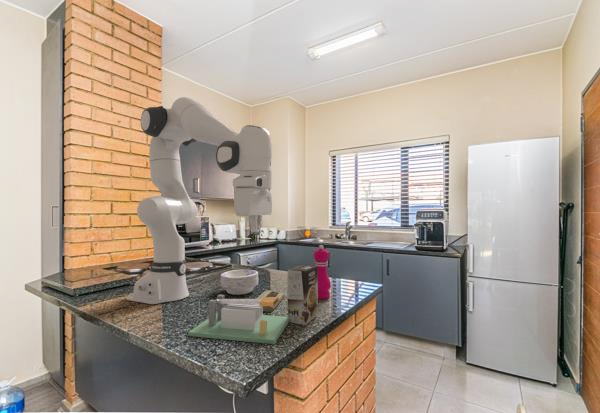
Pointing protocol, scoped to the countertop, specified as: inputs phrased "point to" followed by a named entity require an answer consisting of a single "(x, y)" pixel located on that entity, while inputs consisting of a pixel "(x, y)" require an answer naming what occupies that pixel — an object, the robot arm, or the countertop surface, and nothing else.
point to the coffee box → (302, 294)
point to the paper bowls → (239, 281)
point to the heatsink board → (243, 334)
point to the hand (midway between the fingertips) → (255, 231)
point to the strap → (250, 301)
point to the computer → (271, 294)
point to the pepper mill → (322, 272)
